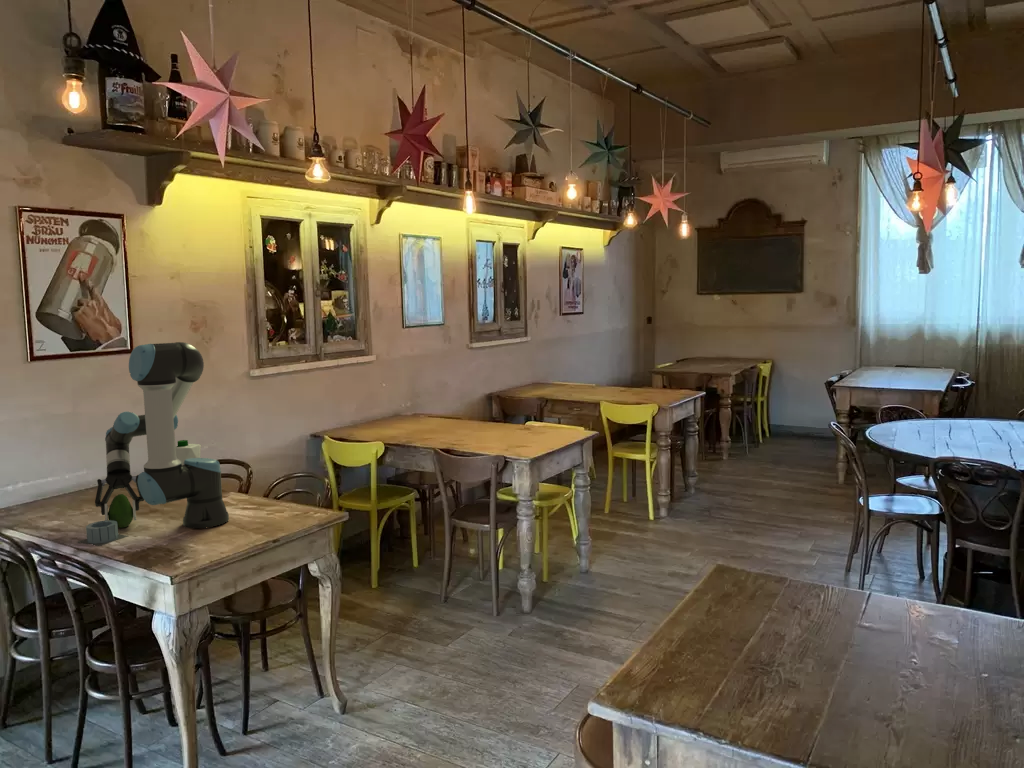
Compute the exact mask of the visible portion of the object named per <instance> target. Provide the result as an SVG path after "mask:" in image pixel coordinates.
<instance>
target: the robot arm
mask: <svg viewBox="0 0 1024 768" xmlns="http://www.w3.org/2000/svg"><path fill="white" fill-rule="evenodd" d="M204 363H205V362H204V359H203V355H202V354H201V352H200V351H199V349H198V348H196V347H195V346H193V345H192V344H190V343H188V342H181V341H178V342H177V341H176V342H161V343H159V342H158V343H147V344H141V345H140V344H139V345H137V346H135V347H134V348H133V349H132V351H131V353H130V356H129V359H128V373H130V374H129V375H130V376H129V377H131V379H132V380H133V381H135V382H137V383H136V384H137V386H138V387H139V388H141V390H142V391H143V393H142V394H143V407H144V408H143V409H144V414H139V415H137V413H135V412H130V411H122V412H120V414H118V415H117V416H116V418H115V420H114V421H113V425H112V427H110V428H109V429H107V430H106V431H105V438H104V439H105V440H104V441H105V451H106V458H105V459H106V477H105V478H104V479H100V478H98V479H97V480H96V481H97V482H96V483H97V490H96V494H95V499H94V505H95V507H97V508H99V507H100V511H101V513H100V514H101V515H102V516H104V521H106V520H109V519H108V511H109V507H108V502H109V500H110V498H111V496H112V494H113V493H114V491H115V490H117V489H118V490H119V489H125V490H126V491H127V493H128V494H129V495H130V498H131V499H132V501H131V502H132V508H133V521H137V511H139V510H140V502H144V501H145V502H146V503H147V504H149V505H150V506H159V505H165V504H167V503H173V502H176V501H181V500H185V499H186V507H185V512H184V516H183V518H182V525H183V527H184V528H188V529H194V528H204V529H207V528H206V527H211V528H213V527H212V526H216V525H219V526H221V525H220V524H222V525H224V524H223V523H225V522H227V521H228V520H229V521H230V517H229V511H228V510H227V508H226V505H225V503H224V500H223V491H222V490H223V489H222V488H223V486H222V476H221V475H222V471H221V464H220V462H219V460H218V459H214V458H209V457H207V458H206V457H205V458H204V457H200V458H190V459H186V460H184V465H182V464H181V461H180V460H179V459H177V458H176V447H177V446H176V437H175V436H176V435H175V430H176V429H177V428H178V427H179V426H178V424H179V418H178V415H177V414H178V411H179V410H180V408H181V406H182V404H183V403H184V400H185V399H186V397H187V395H188V393H189V391H190V390H191V388H192V386H193V385H194V383H196V382H197V381H199V379H200V378H201V376H202V374H203V372H204V368H205V367H204V366H205V365H204ZM141 436H146V444H147V446H146V447H147V448H146V449H147V462H146V463H144V465H143V471H142V472H140V473H139V474H137V475H132V474H131V465H130V464H131V460H130V459H131V458H130V443H131V441H132V440H133V438H134V437H141ZM132 481H133V482H134V483H135V485H136V486H135V487H136V489H137V493H138V494H136V492H135V491H134V490H133V488H132V486H131V485H130V483H131V482H132ZM105 484H107V485H108V487H107V490H106V492H105V494H104V496H103V495H102V494H103V487H105ZM102 496H103V497H102ZM101 499H102V500H101ZM229 521H228V522H229ZM228 522H227V523H228ZM225 524H226V523H225ZM216 527H217V526H216Z"/></svg>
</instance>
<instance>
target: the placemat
mask: <svg viewBox="0 0 1024 768" xmlns="http://www.w3.org/2000/svg"><path fill="white" fill-rule="evenodd" d="M127 537H129V535H125V534H121V533H120V534H119V533H118V538H117V539H115V540H113V541H110V542H105V543H97V544H93V545H92V546H94V545H95V546H94V547H102V546H105V545H107V544H110V543H113V542H116V541H118V540H121V539H124V538H127ZM76 543H78V544H85V545H88V544H92V543H88V542H87V538H85V539H80V540H79V541H76Z"/></svg>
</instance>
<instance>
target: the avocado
mask: <svg viewBox="0 0 1024 768" xmlns="http://www.w3.org/2000/svg"><path fill="white" fill-rule="evenodd" d="M108 520H113V521H117V525H118V529H123V528H128V527H129V526H130V525H131V524H132V521H134V517H133V505H132V504H131V503H130V500H129V498H128V497H127V495H124V493H119V494H118V493H117V495H115V496H114V497H113V499H112V501H111V503H110V504H109V507H108Z"/></svg>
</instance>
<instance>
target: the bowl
mask: <svg viewBox="0 0 1024 768" xmlns="http://www.w3.org/2000/svg"><path fill="white" fill-rule="evenodd" d="M85 532H86V533H85V534H86V539H87V542H88V543H92V544H97V543H105V542H110V541H113V540H115V539H117V538H118V534H119V528H118V525H117V521H113V520H109V519H108V520H106V521H105V520H100V521H94V522H91V523H89V524H87V525H86V526H85ZM113 542H114V541H113Z"/></svg>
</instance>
